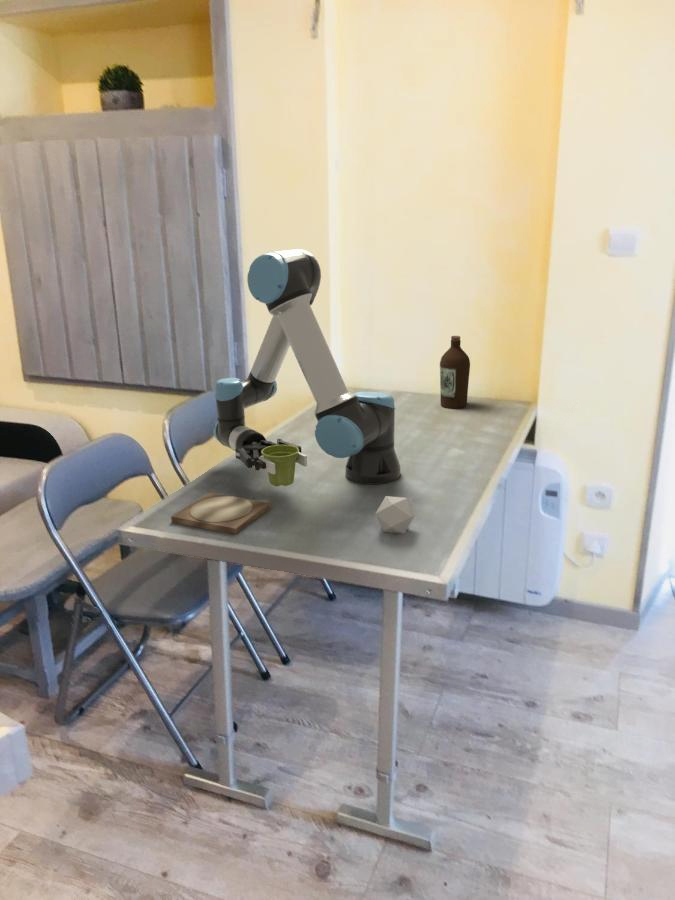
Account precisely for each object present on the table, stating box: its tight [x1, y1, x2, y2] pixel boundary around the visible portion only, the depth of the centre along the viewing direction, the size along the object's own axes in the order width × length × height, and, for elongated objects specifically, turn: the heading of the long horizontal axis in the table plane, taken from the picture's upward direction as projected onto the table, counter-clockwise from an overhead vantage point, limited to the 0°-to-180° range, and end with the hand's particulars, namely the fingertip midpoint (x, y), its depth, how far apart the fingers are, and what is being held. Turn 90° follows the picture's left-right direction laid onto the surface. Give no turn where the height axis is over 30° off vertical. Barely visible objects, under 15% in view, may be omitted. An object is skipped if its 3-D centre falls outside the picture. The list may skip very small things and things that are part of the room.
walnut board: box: [171, 492, 271, 535], centre depth 182 cm, size 18×16×2 cm
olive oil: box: [439, 335, 471, 410], centre depth 266 cm, size 11×11×25 cm
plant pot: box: [261, 445, 299, 487], centre depth 189 cm, size 9×9×9 cm
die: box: [375, 495, 415, 535], centre depth 172 cm, size 8×9×10 cm
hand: (290, 465), depth 185 cm, fingers closed on plant pot, 8 cm apart
